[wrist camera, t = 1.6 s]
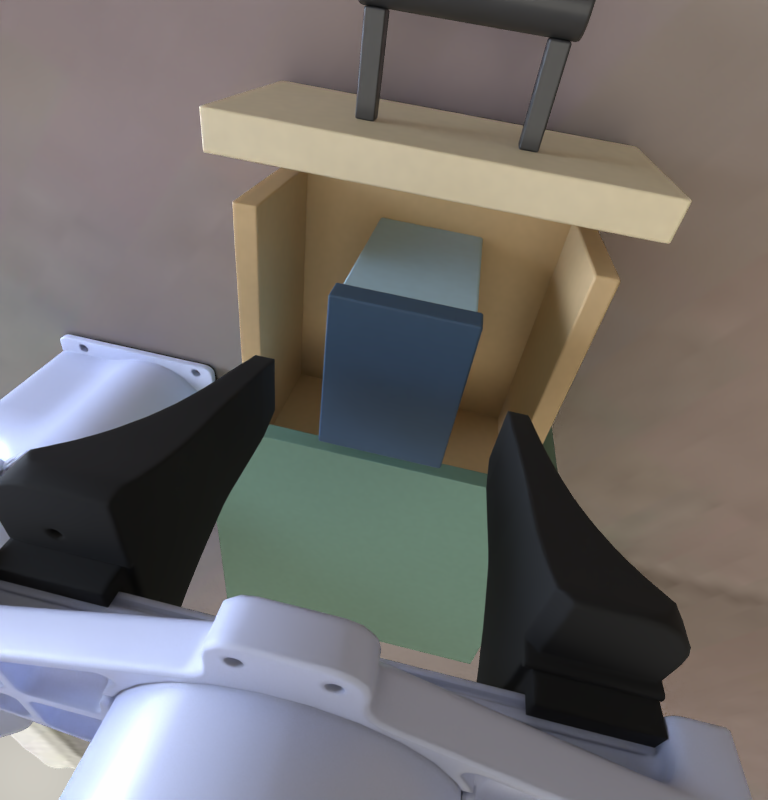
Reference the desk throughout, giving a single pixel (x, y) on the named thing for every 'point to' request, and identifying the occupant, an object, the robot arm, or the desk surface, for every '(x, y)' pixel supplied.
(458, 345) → the container
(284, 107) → the drawer
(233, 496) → the cabinet
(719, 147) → the desk surface
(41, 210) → the desk surface
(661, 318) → the desk surface
